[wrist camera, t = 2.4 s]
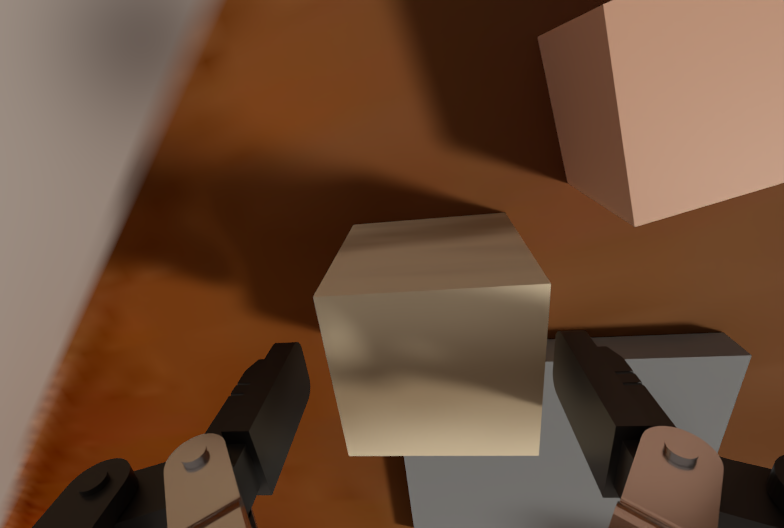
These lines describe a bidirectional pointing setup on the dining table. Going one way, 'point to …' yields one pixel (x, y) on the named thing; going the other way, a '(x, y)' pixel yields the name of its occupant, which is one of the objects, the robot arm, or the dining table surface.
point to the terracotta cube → (669, 102)
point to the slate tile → (562, 451)
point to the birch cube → (436, 338)
